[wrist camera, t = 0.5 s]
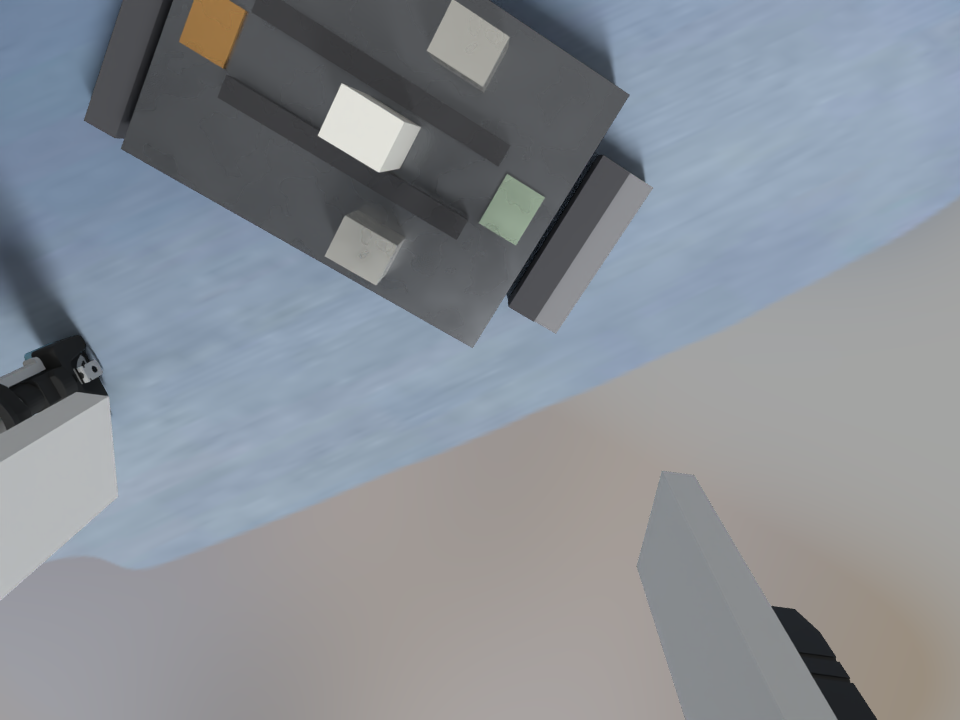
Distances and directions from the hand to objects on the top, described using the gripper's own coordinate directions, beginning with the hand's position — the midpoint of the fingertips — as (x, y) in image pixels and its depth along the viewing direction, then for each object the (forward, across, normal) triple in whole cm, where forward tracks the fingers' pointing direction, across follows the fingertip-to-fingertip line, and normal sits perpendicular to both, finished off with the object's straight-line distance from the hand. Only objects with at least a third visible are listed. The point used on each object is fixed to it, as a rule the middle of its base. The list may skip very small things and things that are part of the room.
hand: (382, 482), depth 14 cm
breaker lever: (+21, -5, +8) cm, 23 cm away
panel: (+24, -6, +8) cm, 26 cm away
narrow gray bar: (+24, +6, +3) cm, 25 cm away
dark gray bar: (+24, -18, +12) cm, 32 cm away
